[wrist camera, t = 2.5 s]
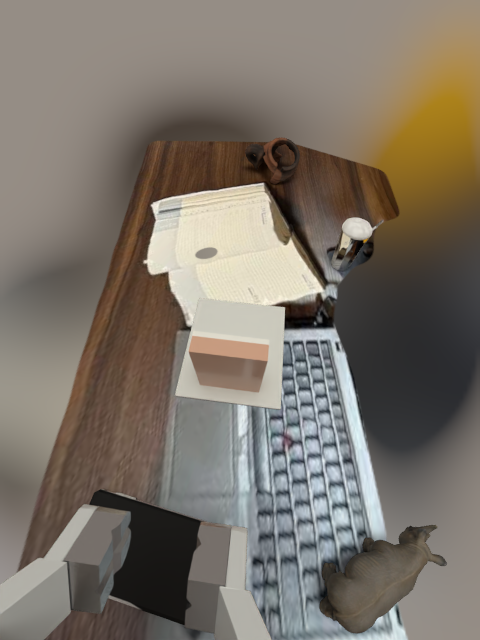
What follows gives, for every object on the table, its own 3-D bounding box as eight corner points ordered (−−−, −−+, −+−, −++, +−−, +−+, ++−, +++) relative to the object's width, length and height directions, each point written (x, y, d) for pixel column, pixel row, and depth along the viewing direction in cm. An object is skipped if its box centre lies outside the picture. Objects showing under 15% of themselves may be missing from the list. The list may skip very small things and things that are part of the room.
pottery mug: (289, 161, 67) (305, 138, 59) (285, 198, 66) (301, 179, 58) (242, 147, 64) (252, 121, 56) (237, 185, 63) (247, 164, 55)
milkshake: (358, 276, 48) (385, 230, 39) (327, 272, 48) (348, 226, 39) (355, 257, 50) (381, 210, 41) (326, 254, 50) (345, 206, 42)
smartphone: (203, 634, 25) (54, 581, 26) (204, 628, 26) (61, 577, 27) (226, 526, 29) (97, 486, 30) (227, 525, 30) (101, 486, 31)
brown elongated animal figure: (434, 546, 29) (479, 560, 24) (327, 627, 25) (352, 664, 20) (407, 504, 31) (442, 509, 25) (304, 574, 27) (321, 596, 22)
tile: (258, 392, 36) (267, 361, 27) (199, 385, 37) (188, 351, 27) (260, 375, 37) (269, 339, 28) (203, 368, 38) (193, 330, 28)
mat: (280, 409, 36) (280, 409, 35) (175, 396, 36) (174, 395, 36) (284, 308, 44) (284, 307, 43) (199, 299, 44) (198, 297, 44)
